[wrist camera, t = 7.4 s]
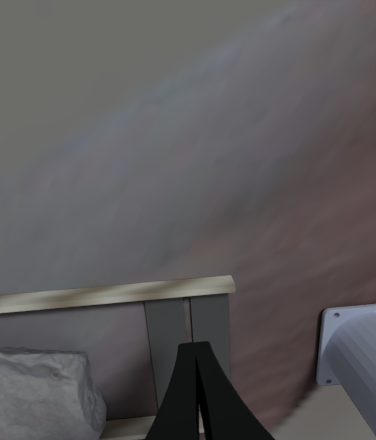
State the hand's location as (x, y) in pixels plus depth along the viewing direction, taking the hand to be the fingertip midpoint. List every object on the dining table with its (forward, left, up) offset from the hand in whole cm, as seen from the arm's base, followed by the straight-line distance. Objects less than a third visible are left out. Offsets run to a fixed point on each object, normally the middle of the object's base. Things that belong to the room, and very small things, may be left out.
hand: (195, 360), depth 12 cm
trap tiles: (0, +9, -9) cm, 13 cm away
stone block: (+14, +10, -10) cm, 20 cm away
